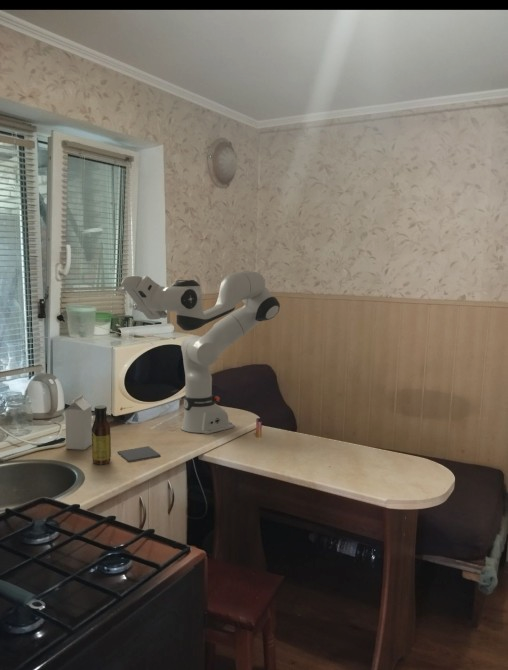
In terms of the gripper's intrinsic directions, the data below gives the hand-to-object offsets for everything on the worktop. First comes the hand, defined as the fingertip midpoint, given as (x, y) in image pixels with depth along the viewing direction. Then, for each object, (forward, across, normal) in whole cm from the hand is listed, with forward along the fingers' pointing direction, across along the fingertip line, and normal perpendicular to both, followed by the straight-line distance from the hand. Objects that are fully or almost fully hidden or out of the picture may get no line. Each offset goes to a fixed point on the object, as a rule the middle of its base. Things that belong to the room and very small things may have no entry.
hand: (127, 298), depth 204 cm
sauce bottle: (-5, -25, +54) cm, 60 cm away
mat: (-10, -34, +45) cm, 58 cm away
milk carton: (+14, -29, +49) cm, 59 cm away
